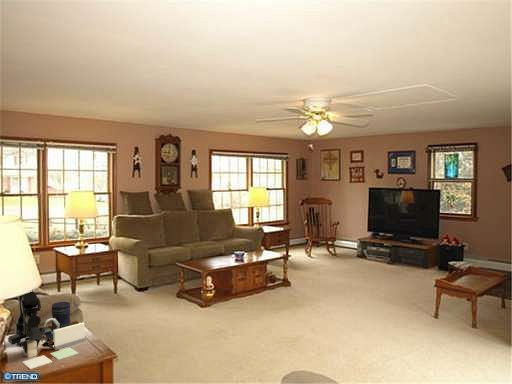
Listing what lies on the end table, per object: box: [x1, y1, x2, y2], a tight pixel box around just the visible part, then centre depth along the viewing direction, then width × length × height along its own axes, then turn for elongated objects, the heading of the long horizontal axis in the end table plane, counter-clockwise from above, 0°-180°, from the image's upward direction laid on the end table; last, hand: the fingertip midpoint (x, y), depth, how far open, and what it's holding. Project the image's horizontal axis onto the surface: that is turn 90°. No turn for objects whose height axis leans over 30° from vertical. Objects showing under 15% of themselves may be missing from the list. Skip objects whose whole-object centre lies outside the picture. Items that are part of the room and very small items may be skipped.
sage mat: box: [49, 346, 79, 361], centre depth 211 cm, size 10×10×1 cm
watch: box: [43, 317, 60, 340], centre depth 231 cm, size 6×8×11 cm
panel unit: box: [53, 321, 87, 351], centre depth 226 cm, size 12×16×10 cm
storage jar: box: [51, 301, 71, 331], centre depth 243 cm, size 10×10×15 cm
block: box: [24, 340, 38, 359], centre depth 210 cm, size 5×4×7 cm
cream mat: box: [21, 354, 53, 370], centre depth 202 cm, size 10×10×1 cm
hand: (30, 351), depth 210 cm, fingers closed on block, 4 cm apart
